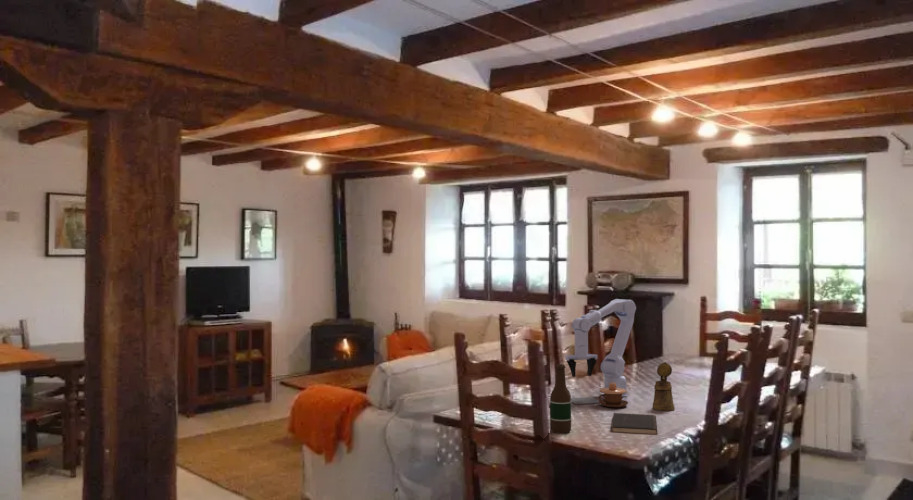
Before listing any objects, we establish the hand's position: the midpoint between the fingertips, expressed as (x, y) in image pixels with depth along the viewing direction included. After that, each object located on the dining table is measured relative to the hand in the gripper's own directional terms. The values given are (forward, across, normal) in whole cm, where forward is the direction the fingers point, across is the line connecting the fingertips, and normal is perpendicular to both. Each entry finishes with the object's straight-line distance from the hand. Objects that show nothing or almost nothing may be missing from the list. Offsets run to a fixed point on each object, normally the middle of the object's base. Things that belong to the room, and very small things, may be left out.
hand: (581, 376), depth 313 cm
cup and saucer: (+11, -7, +15) cm, 20 cm away
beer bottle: (+11, +31, +48) cm, 58 cm away
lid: (+4, -7, +15) cm, 17 cm away
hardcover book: (+11, +1, +48) cm, 49 cm away
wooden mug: (+11, -26, +24) cm, 37 cm away
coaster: (+10, +1, +3) cm, 11 cm away
